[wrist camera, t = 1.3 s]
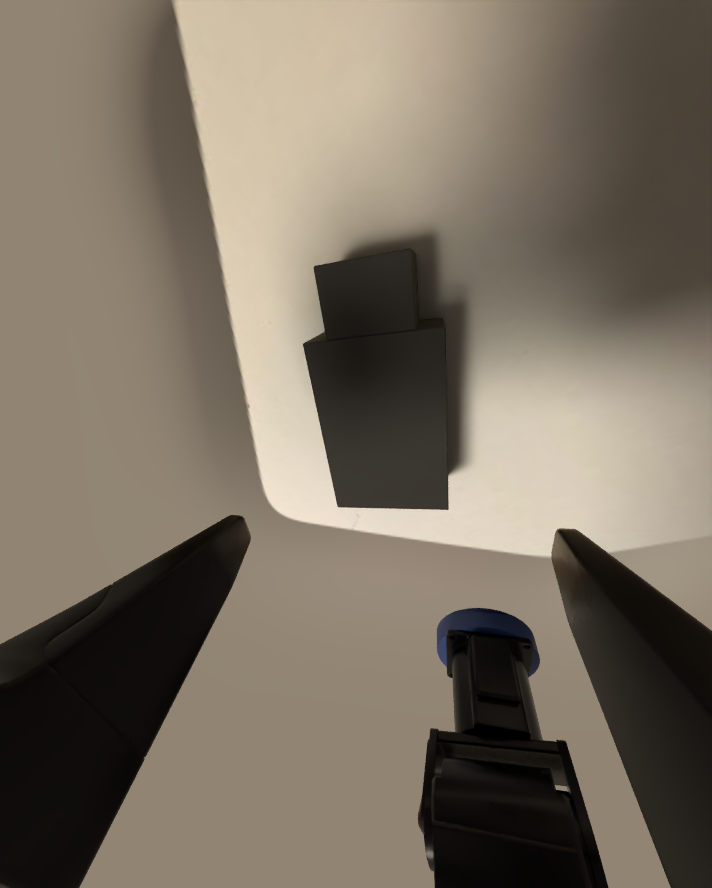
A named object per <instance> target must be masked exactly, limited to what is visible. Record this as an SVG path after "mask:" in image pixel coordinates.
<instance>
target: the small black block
mask: <svg viewBox="0 0 712 888" xmlns="http://www.w3.org/2000/svg"><path fill="white" fill-rule="evenodd" d="M314 273H315V278H316V284H317V289H318V295H319V300H320V306H321V312H322V317H323V323H324V328H325V332H324V333H322V334H320V335H318V336H316V337H315V338H313V339H311V340H309V341H307V342H305V343H304V344H303V347H304V351H305V356H306V361H307V365H308V370H309V375H310V379H311V384H312V389H313V393H314V398H315V403H316V407H317V412H318V417H319V421H320V426H321V431H322V435H323V440H324V445H325V449H326V454H327V459H328V463H329V468H330V473H331V477H332V482H333V487H334V491H335V496H336V501H337V505H338V507H351V508H396V509H440V510H448V448H447V386H446V328H445V323H444V319H443V318H434V319H426V320H419V302H418V282H417V262H416V253H415V252H414V251H413V250H412V249H411V248H409V249H404V250H398V251H393V252H388V253H382V254H377V255H371V256H366V257H361V258H355V259H350V260H344V261H339V262H334V263H328V264H323V265H318V266H315V267H314Z"/></svg>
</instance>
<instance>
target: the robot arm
mask: <svg viewBox="0 0 712 888" xmlns="http://www.w3.org/2000/svg"><path fill="white" fill-rule="evenodd" d="M250 539H251V536H250V532H249V529H248V527H247V524H246V521H245V519H244V518H243V516H240V515H230V516H228V517H226V518H224V519H223V520H221V521H220V522H217V523H216V524H214V525H212V526H211V527H209V528H207V529H205V530H204V531H202V532H200V533H199V534H197V535H195V536H194V537H192V538H190V539H188V540H187V541H185V542H183V543H182V544H180V545H178V546H176V547H174V548H173V549H171V550H169V551H168V552H166V553H164V554H162V555H161V556H159V557H157V558H155V559H154V560H152V561H150V562H149V563H147V564H145V565H143V566H142V567H140V568H138V569H136V570H135V571H133V572H131V573H130V574H128V575H126V576H124V577H123V578H121V579H119V580H118V581H116V582H114V583H113V585H109V586H107V587H105V588H104V589H102V590H100V591H99V592H97V593H95V594H93V595H92V596H90V597H88V598H86V599H84V600H83V601H81V602H79V603H78V604H76V605H74V606H72V607H70V608H68V609H66V610H64V611H63V612H61V613H59V614H57V615H55V616H53V617H51V618H50V619H48V620H46V621H44V622H42V623H40V624H38V625H36V626H34V627H32V628H31V629H29V630H27V631H25V632H23V633H21V634H19V635H17V636H15V637H13V638H12V639H9V640H8V641H6V642H4V643H2V644H0V888H79V887H80V885H81V883H82V881H83V879H84V877H85V875H86V874H87V872H88V870H89V867H90V866H91V864H92V862H93V860H94V858H95V856H96V854H97V852H98V850H99V848H100V846H101V844H102V842H103V840H104V838H105V836H106V834H107V832H108V830H109V828H110V826H111V824H112V822H113V820H114V818H115V816H116V815H117V813H118V810H119V809H120V807H121V805H122V803H123V801H124V799H125V797H126V795H127V793H128V791H129V789H130V787H131V785H132V783H133V781H134V779H135V777H136V775H137V773H138V771H139V769H140V767H141V765H142V763H143V761H144V757H146V755H147V753H148V751H149V749H150V747H151V745H152V743H153V741H154V739H155V737H156V735H157V734H158V731H159V730H160V728H161V726H162V723H163V722H164V720H165V718H166V716H167V714H168V712H169V710H170V708H171V706H172V704H173V702H174V700H175V698H176V696H177V694H178V692H179V690H180V688H181V686H182V684H183V682H184V680H185V678H186V677H187V675H188V673H189V671H190V669H191V667H192V665H193V663H194V661H195V659H196V657H197V655H198V653H199V651H200V649H201V647H202V645H203V643H204V641H205V639H206V637H207V635H208V633H209V631H210V629H211V628H212V625H213V624H214V622H215V619H216V618H217V616H218V614H219V612H220V610H221V608H222V606H223V604H224V602H225V600H226V598H227V596H228V594H229V592H230V590H231V588H232V586H233V583H234V581H235V579H236V576H237V574H238V571H239V569H240V566H241V564H242V561H243V559H244V556H245V554H246V551H247V548H248V546H249V543H250ZM552 562H553V566H554V570H555V573H556V578H557V581H558V585H559V589H560V593H561V597H562V600H563V604H564V608H565V612H566V615H567V619H568V622H569V625H570V628H571V630H572V633H573V636H574V638H575V641H576V644H577V646H578V649H579V651H580V654H581V657H582V659H583V662H584V664H585V667H586V669H587V672H588V675H589V677H590V680H591V682H592V685H593V688H594V690H595V693H596V695H597V698H598V701H599V703H600V706H601V708H602V711H603V713H604V716H605V719H606V721H607V723H608V726H609V729H610V732H611V734H612V737H613V739H614V742H615V744H616V747H617V750H618V752H619V755H620V757H621V760H622V762H623V765H624V768H625V770H626V773H627V775H628V778H629V781H630V783H631V786H632V788H633V791H634V794H635V796H636V798H637V801H638V804H639V806H640V809H641V812H642V814H643V817H644V819H645V822H646V824H647V827H648V830H649V832H650V835H651V837H652V840H653V843H654V845H655V848H656V850H657V853H658V855H659V858H660V860H661V863H662V866H663V868H664V871H665V874H666V876H667V879H668V881H669V884H670V886H671V888H712V631H711V630H710V629H709V628H707V627H706V626H705V625H703V624H702V623H701V622H699V621H698V620H697V619H695V618H694V617H693V616H691V615H690V614H689V613H687V612H686V611H684V610H683V609H682V608H681V607H679V606H678V605H676V604H675V603H674V602H673V601H671V600H670V599H669V598H667V597H666V596H665V595H663V594H662V593H661V592H659V591H658V590H657V589H655V588H654V587H653V586H651V585H650V584H648V583H647V582H646V581H644V580H643V579H642V578H641V577H639V576H638V575H637V574H635V573H634V572H633V571H631V570H630V569H629V568H627V567H626V566H625V565H623V564H622V563H621V562H619V561H618V560H617V559H615V558H614V557H613V556H611V555H610V554H609V553H607V552H606V551H605V550H603V549H602V548H601V547H599V546H598V545H597V544H595V543H594V542H593V541H591V540H590V539H589V538H587V537H586V536H585V535H583V534H582V533H581V532H579V531H578V530H576V529H561V528H560V529H557V531H556V533H555V537H554V542H553V548H552ZM446 649H447V675H448V676H449V677H450V678H453V697H454V717H455V732H448V731H439V730H438V729H433V728H431V729H430V738H429V740H428V743H427V753H426V763H425V773H424V783H423V793H422V799H421V804H420V809H419V813H418V824H419V827H420V829H421V831H422V832H423V834H424V841H425V849H426V855H427V860H428V864H429V867H430V869H431V870H432V871H434V879H435V888H608V884H607V881H606V877H605V873H604V869H603V866H602V862H601V859H600V855H599V851H598V848H597V844H596V841H595V837H594V834H593V830H592V827H591V824H590V820H589V817H588V814H587V810H586V807H585V804H584V800H583V797H582V794H581V790H580V787H579V784H578V780H577V777H576V773H575V770H574V767H573V763H572V760H571V757H570V753H569V750H568V747H567V743H566V741H563V740H556V741H557V742H554V741H543V739H542V735H541V731H540V727H539V722H538V718H537V714H536V710H535V706H534V701H533V697H532V693H531V688H530V684H529V680H528V677H529V672H530V666H531V661H532V655H533V650H534V646H533V642H532V640H531V639H529V638H523V637H514V636H506V635H497V634H488V633H479V632H471V631H462V630H453V629H449V630H447V631H446ZM555 785H561V786H567V789H568V792H567V791H560V790H556V788H555Z"/></svg>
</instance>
